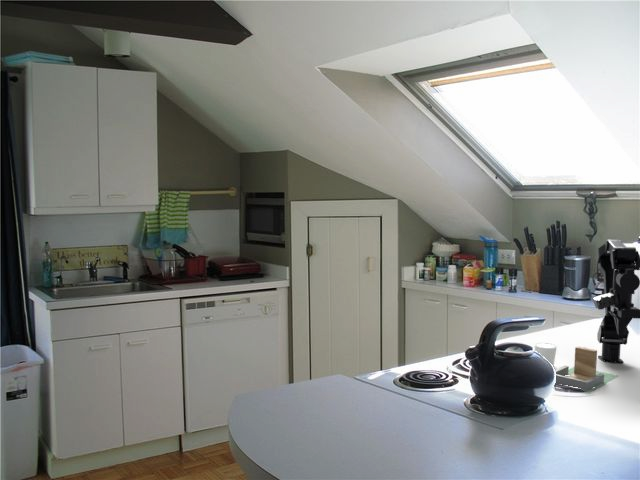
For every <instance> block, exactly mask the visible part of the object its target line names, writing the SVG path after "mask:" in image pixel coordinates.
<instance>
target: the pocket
mask: <svg viewBox="0 0 640 480" xmlns="http://www.w3.org/2000/svg"><path fill="white" fill-rule="evenodd" d="M569 369H570V368H569V365H563V366H561V367H559V368H557V369H554V370H555V372H556V384H555V385H557V384H562V385H568V386H573V387H578V388H581V389H583V390H585V391H584V392H586V391H588V390H590V389H592V388H593V387H596V386H598V385H600V384H601V383H603V382H604V374H602V373H600V374H598V375H596V376H594V377H592V378H590V379H588V380H586V381H584V380H580V379H575V378H571V377H567V376H565V375H567V374H568V370H569Z"/></svg>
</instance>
